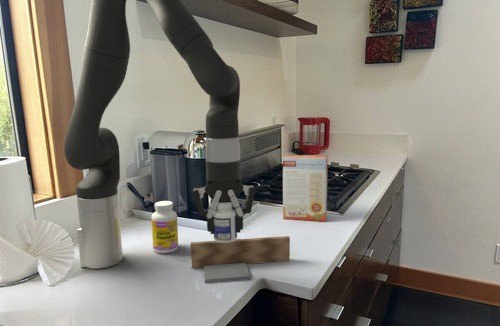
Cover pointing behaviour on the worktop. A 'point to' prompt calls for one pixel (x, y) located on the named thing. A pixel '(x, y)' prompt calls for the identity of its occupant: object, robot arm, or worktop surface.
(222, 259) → the walnut screen
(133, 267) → the worktop surface
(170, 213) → the supplement bottle
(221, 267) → the grey pad
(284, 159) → the cracker box
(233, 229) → the pill bottle
